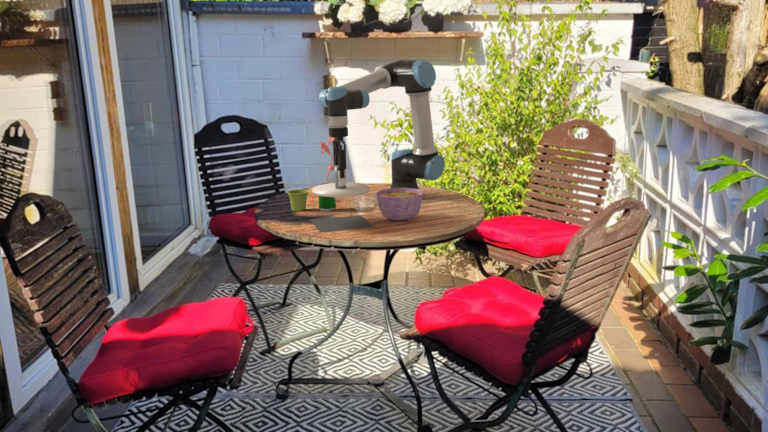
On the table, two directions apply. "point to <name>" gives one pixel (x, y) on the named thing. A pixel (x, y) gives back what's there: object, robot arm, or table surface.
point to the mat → (341, 223)
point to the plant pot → (298, 200)
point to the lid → (340, 188)
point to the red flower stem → (328, 153)
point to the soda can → (327, 202)
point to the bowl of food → (399, 203)
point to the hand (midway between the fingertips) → (340, 184)
